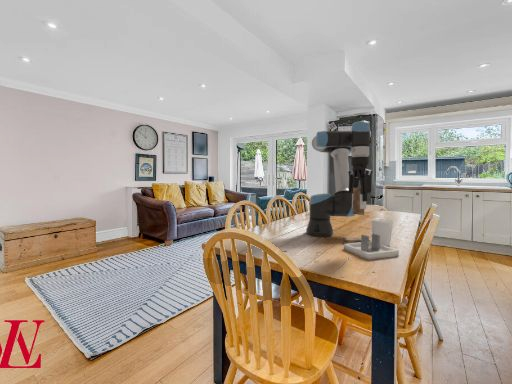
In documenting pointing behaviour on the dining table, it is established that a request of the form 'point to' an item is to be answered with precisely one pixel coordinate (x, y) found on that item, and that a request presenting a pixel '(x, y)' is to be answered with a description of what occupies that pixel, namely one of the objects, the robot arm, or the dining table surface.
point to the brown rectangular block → (357, 202)
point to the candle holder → (382, 230)
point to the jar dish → (371, 248)
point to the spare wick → (351, 240)
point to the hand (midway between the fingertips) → (358, 208)
